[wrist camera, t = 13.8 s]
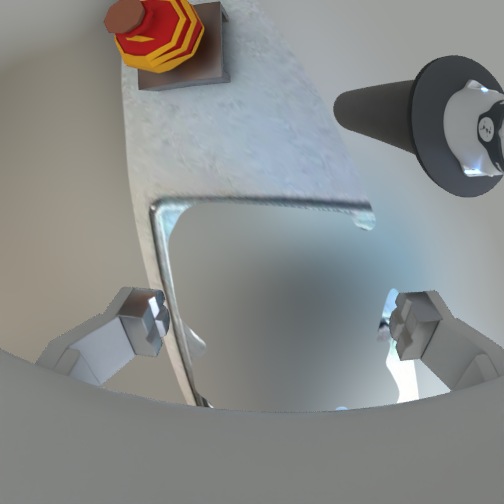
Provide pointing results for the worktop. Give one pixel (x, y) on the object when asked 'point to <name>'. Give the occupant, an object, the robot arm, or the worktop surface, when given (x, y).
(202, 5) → the shelf
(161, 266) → the worktop surface
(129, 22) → the potion bottle
